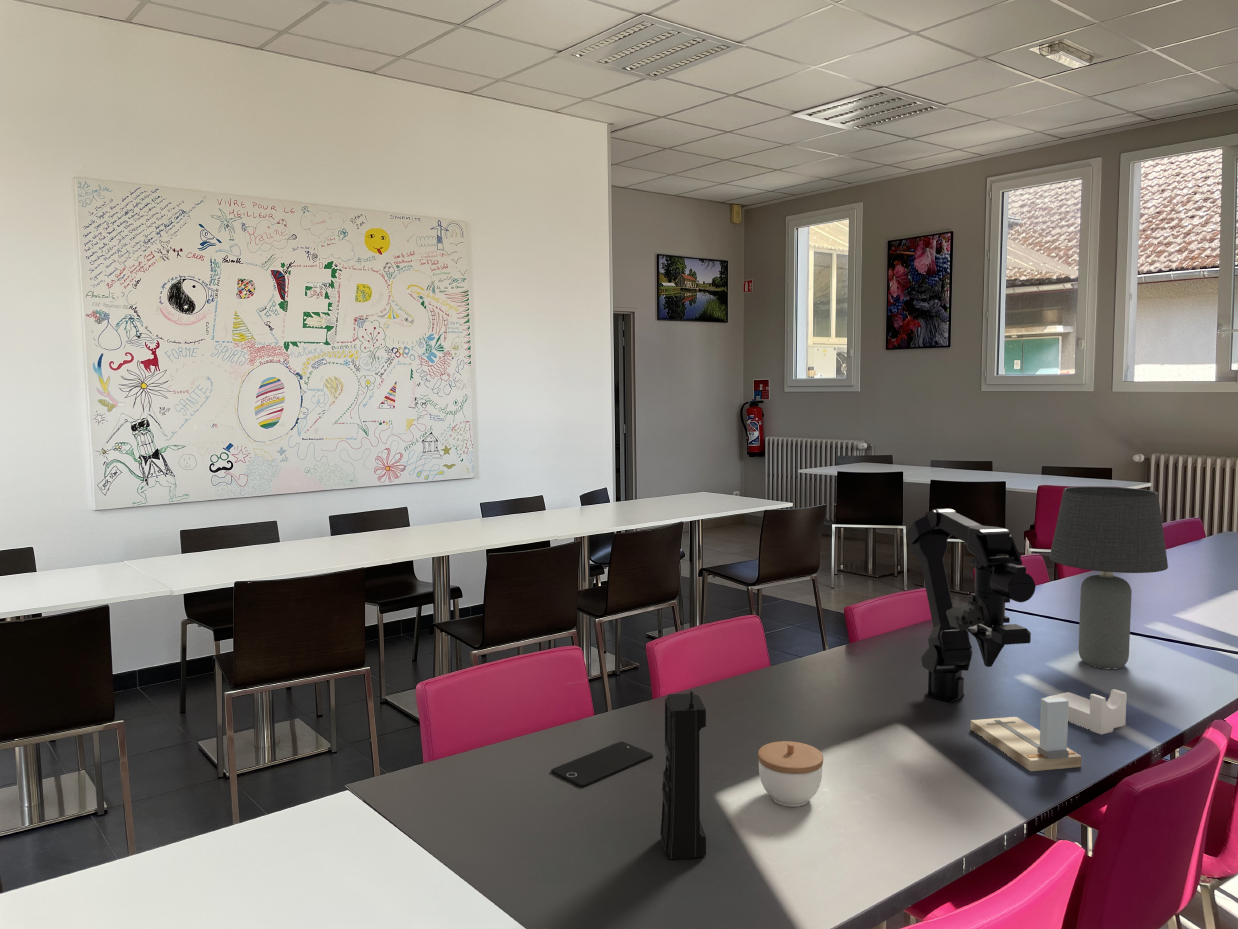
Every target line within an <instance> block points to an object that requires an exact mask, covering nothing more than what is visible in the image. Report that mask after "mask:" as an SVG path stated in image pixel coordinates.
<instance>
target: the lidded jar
mask: <svg viewBox="0 0 1238 929" xmlns="http://www.w3.org/2000/svg"><path fill="white" fill-rule="evenodd" d="M757 760H758V771H759V779H760V782H761V785H762V787H763V789H764V790H765V791H766V793H767V795H768V796H769V797H771V800H772V801H773V802H775V803H776V804H778V805H780V806H783V807H789V808H798V807H802V806H806V805H807V804H808V803H809V801H810V800H811V799H813V797H815V795H816V794H817V792H818V791H819V788H820V786H821V783H822V778H823V764H824V755H823V753H822V752H821V751H820V750H819V749H818V748H817V747H814V746H812V745H810V744H806V743H803V742H798V741H790V740H789V741H788V740H782V741H774V742H769V743H766V744H764V745H762V746H761V747H760V748H759V750H758V752H757Z"/></svg>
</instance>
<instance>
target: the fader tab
mask: <svg viewBox="0 0 1238 929" xmlns="http://www.w3.org/2000/svg"><path fill="white" fill-rule="evenodd" d="M1068 705H1069V701H1068V700H1066V699H1064V698H1062V697H1056V698H1045V697H1044V698H1040V715H1039V716H1040V719H1039V721H1040V723H1039V724H1040V725H1039V731H1040V745H1039V746H1038V751H1037V752H1038V753H1040V754H1041V755H1043V756H1044V757H1046V758H1047V759H1056V758H1067V757H1069V751H1068V750H1067V748H1068V733H1069V732H1068V730H1069V725H1068V724H1069V722H1068Z"/></svg>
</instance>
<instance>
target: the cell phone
mask: <svg viewBox="0 0 1238 929" xmlns="http://www.w3.org/2000/svg"><path fill="white" fill-rule="evenodd" d="M653 758H654V754H653V753H652V752H650V751H647V750H644V749H642V748H640V747H637V746H635V745H633V744H630V743H628V742H626V741H618V742H616V743H613V744H610V745H608V746H606V747H604V748H601V749H598V750H596V751H594V752H590V753H588V754H586V755H583V756H581V757H578V758H576V759H573V760H571V761H568V762H566V763H564V764H561V765H558V766H556V767H553V768H552V769H551V770H550V773H551V774H552V775H555V776H556V777H558V778H560V779H562V780H565V781H567V782H569V783H571V784H573V785H574V786H577V787H579V788H580V789H584V788H588V787H589V786H592V785H593V784H596V783H598V782H600V781H603V780H606V779H607V778H610V777H612V776H615V775H616V774H618V773H622V772H623V771H625V770H628V769H630V768H633V767H635V766H637V765H640V764H641V763H644V762H647V761H649V760H651V759H653Z"/></svg>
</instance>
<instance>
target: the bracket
mask: <svg viewBox="0 0 1238 929" xmlns="http://www.w3.org/2000/svg"><path fill="white" fill-rule="evenodd" d="M1127 694H1128V693H1127V692H1126V691H1125V692H1124V691H1121V690H1120V689H1115V688H1114V689H1111V690H1110V695H1109V697H1108V699H1106V697H1103V696H1102V695H1098V694H1095V693H1090V694H1089V698H1087V697H1084V696H1081V695H1078V694H1075V693H1072V692H1070V691H1067V692H1063V693H1058V694H1054V695H1049V696H1045V697H1044V698H1056V697H1062V698H1064V699H1066V700H1068V701H1069V705H1068V721H1069V722H1068V723H1070V722H1071V724H1073V723H1074V724H1073V725H1075V724H1076V725H1075V726H1078V725H1079V727H1080V726H1082V727H1081V728H1083V727H1084V728H1083V729H1085V728H1086V729H1085V730H1088V729H1090V730H1089V731H1091V732H1093V733H1096V734H1099V735H1104V734H1105V735H1106V734H1108V733H1113V732H1114V729H1116V728H1120V727H1124V726H1126V720H1127V717H1126V716H1127V715H1126V714H1127Z"/></svg>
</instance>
